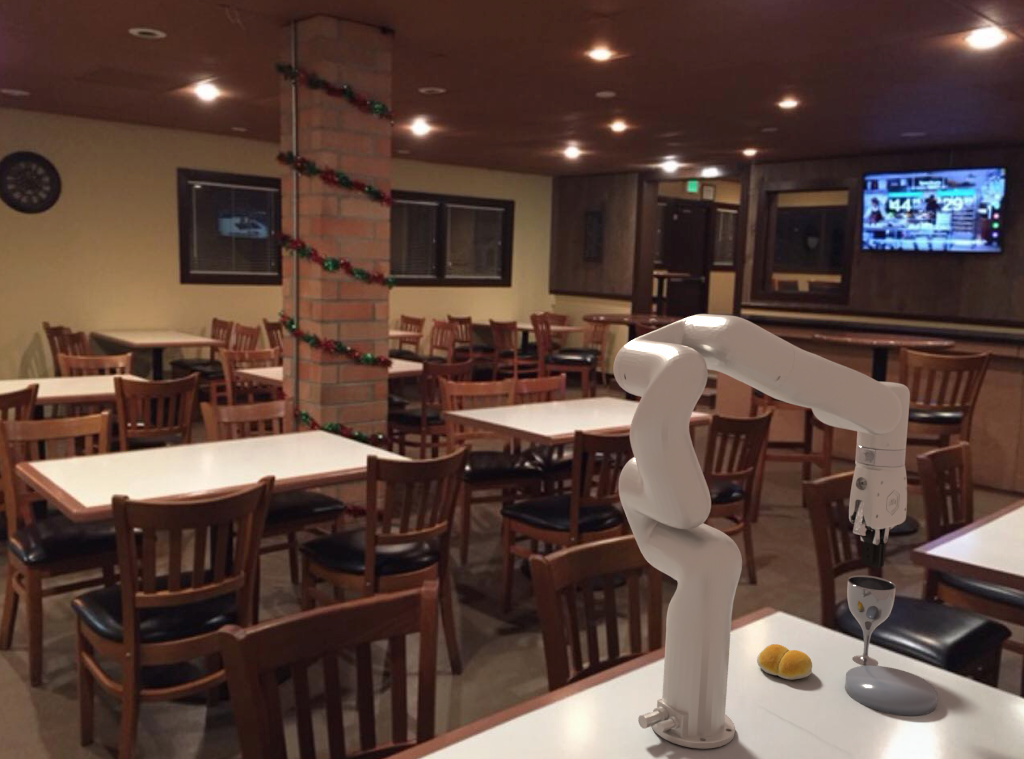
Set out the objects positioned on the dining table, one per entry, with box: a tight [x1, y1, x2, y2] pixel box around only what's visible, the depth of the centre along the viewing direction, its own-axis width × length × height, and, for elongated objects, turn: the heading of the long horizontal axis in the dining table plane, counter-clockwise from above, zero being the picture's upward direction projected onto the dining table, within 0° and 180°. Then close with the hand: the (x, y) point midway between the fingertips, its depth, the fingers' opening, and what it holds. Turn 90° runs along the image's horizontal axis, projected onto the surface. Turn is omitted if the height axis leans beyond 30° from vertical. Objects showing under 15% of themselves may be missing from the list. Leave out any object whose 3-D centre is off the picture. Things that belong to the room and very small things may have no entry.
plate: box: [844, 665, 938, 717], centre depth 145 cm, size 14×14×2 cm
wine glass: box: [846, 574, 896, 666], centre depth 157 cm, size 8×8×15 cm
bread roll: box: [756, 643, 813, 680], centre depth 152 cm, size 8×9×4 cm
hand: (872, 564), depth 145 cm, fingers closed
